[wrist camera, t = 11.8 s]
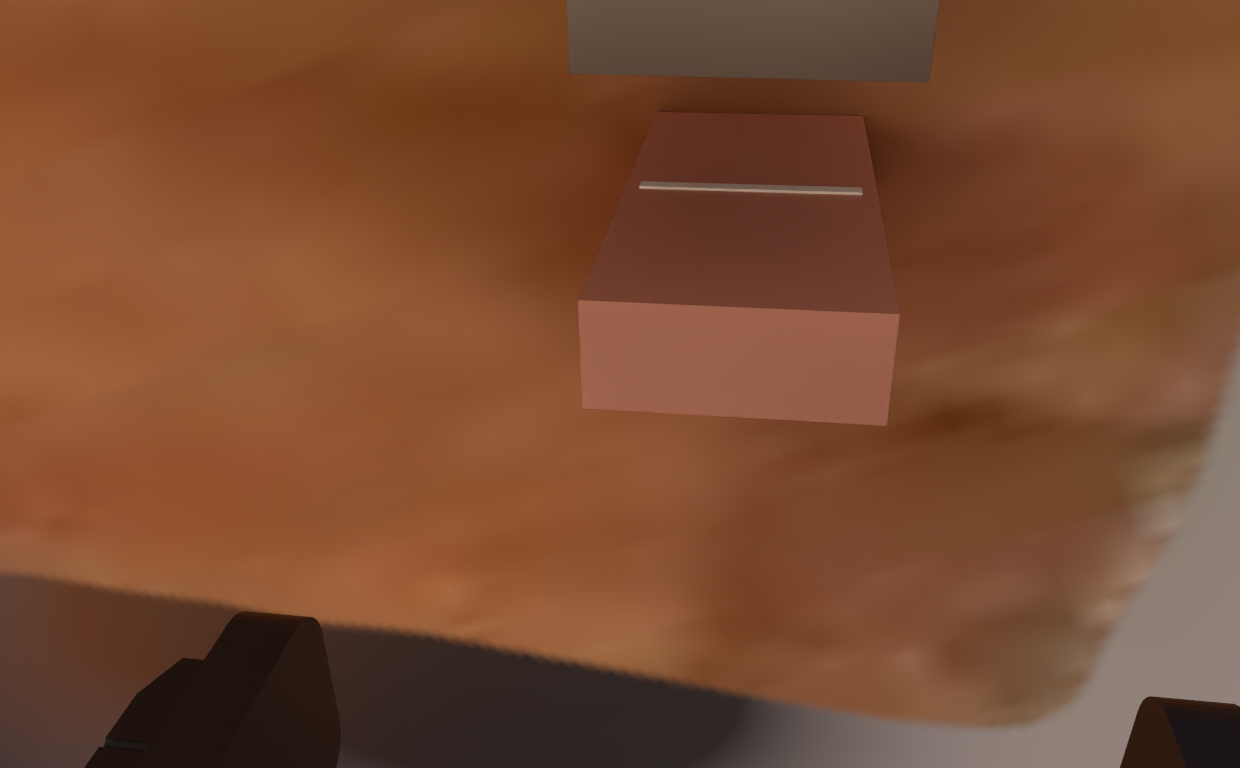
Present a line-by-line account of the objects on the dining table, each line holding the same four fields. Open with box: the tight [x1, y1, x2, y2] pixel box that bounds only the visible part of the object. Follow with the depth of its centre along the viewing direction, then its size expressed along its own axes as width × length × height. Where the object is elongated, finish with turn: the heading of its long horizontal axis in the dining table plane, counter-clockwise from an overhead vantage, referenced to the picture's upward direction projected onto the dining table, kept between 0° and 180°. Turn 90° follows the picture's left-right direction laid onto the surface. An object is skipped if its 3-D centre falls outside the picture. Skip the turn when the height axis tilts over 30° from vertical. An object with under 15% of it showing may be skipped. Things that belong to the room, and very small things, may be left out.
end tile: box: [578, 112, 900, 426], centre depth 22 cm, size 2×5×11 cm, turn 91°
